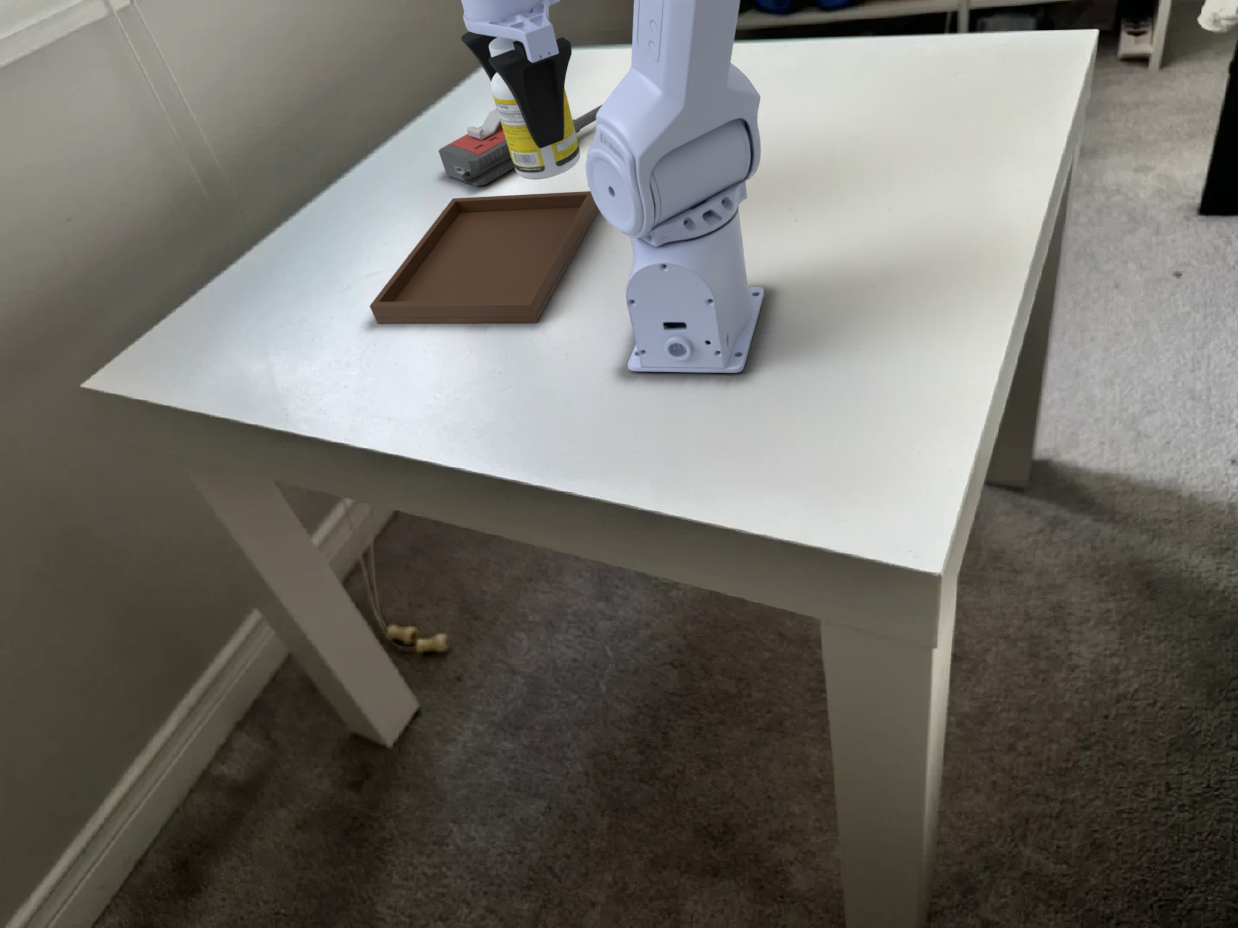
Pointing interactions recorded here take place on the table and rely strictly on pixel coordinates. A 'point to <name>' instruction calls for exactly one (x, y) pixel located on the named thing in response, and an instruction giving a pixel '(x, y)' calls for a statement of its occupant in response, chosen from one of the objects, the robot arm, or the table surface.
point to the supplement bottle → (520, 143)
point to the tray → (488, 260)
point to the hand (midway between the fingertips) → (537, 130)
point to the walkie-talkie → (487, 150)
